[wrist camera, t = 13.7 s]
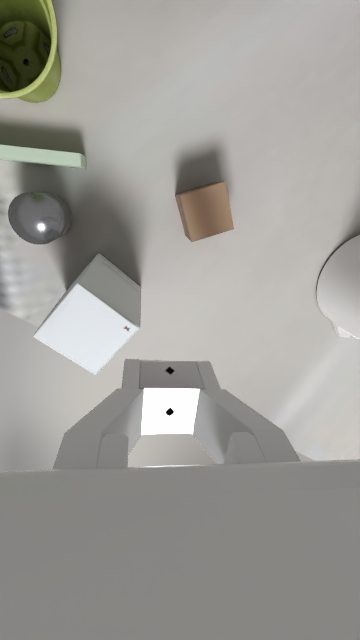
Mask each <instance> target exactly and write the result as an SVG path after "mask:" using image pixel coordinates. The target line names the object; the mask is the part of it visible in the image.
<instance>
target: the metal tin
mask: <svg viewBox="0 0 360 640" xmlns="http://www.w3.org/2000/svg"><path fill="white" fill-rule="evenodd" d="M8 217H9V221H10V224H11V226H12V228H13V230H14V231H15V232H16V233H17V234H18V235H19V236H20V237H21V238H22V239H24V240H25V241H27V242H30V243H33V244H46V243H49V242H51V241H53V240H55V239H56V238H58V237H60V236H62V235H63V234H65V233H66V232H67V231H68V230H69V228H70V226H71V221H72V216H71V212H70V209H69V207H68V205H67V204H66V203H65V201H64V200H63V199H61V198H60V197H59V196H57V195H55V194H52V193H48V192H36V193H23V194H20V195H18V196H17V197H15V198H14V199H13V200H12V202H11V204H10V206H9V210H8Z"/></svg>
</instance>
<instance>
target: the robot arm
mask: <svg viewBox="0 0 360 640" xmlns="http://www.w3.org/2000/svg"><path fill="white" fill-rule="evenodd" d="M317 302H318V305H319V308H320V310H321V311H322V313H323V314H324V315H325V316H326V317H327V318H328V319H329V320H330V321H331V322H332V323H333V327H334V330H335V332H336V334H337V335H339V336H341V337H343V338H347V337H353V336H354V337H355V338H357V339H359V340H360V234H359V235H358V236H356V237H354V238H352V239H350V240H349V241H347V242H346V243H345V244H343V245H342V246H341V247H340V248H339V249H337V250H336V251H335V253H334V254H333V255H332V256H331V257H330V258H329V260H328V261H327V263H326V264H325V266H324V268H323V270H322V272H321V274H320V277H319V280H318V284H317ZM158 433H191V434H192V435H193V436H194V437H195V438H196V440H197V441H198V442H199V443H200V444H201V446H202V447H203V448H204V449H205V450H206V452H207V453H208V454H209V455H210V456H211V457H212V459H213V460H214V461H215V462H216V464H208V465H179V466H151V467H150V466H149V467H127V464H128V455H129V453H130V452H131V450H132V449H133V447H134V446H135V445H136V443H137V441H138V440H139V439H140V437H141V435H142V434H158ZM0 640H360V459H358V460H332V461H303V462H302V461H300V459H299V457H298V456H297V454H296V452H295V450H294V449H293V447H292V445H291V444H290V442H289V440H288V438H287V437H286V435H285V433H284V431H283V430H281V429H280V428H279V427H277V426H276V425H274V424H273V423H272V422H270V421H269V420H267V419H266V418H264V417H263V416H262V415H260V414H259V413H257V412H256V411H255V410H253V409H252V408H250V407H249V406H248V405H246V404H245V403H243V402H242V401H240V400H239V399H238V398H236V397H235V396H233V395H232V394H231V393H229V392H228V391H226V390H221V388H220V386H219V383H218V381H217V378H216V375H215V373H214V370H213V368H212V365H211V363H210V362H209V361H160V360H139V359H125V362H124V371H123V380H122V389H116V390H115V391H114V392H113V393H112V394H110V395H109V396H108V397H107V398H105V399H104V400H103V401H102V402H101V403H100V404H98V405H97V406H96V407H95V408H94V409H93V410H91V411H90V412H89V413H88V414H87V415H85V416H84V417H83V418H82V419H81V420H80V421H79V422H77V423H76V424H75V425H74V426H73V427H71V428H70V429H69V430H68V431H67V432H66V433H65V434H64V437H63V440H62V443H61V445H60V448H59V452H58V455H57V458H56V461H55V464H54V466H53V469H52V470H31V471H3V472H2V471H1V472H0Z"/></svg>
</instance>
